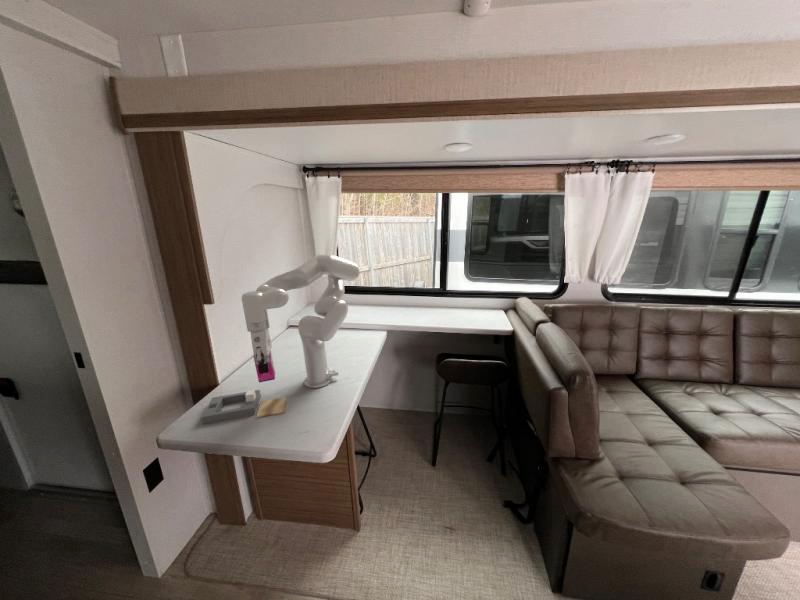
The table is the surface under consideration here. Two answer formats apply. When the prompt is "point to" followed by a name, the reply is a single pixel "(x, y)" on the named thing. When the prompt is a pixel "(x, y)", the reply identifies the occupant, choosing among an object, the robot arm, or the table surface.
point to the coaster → (272, 407)
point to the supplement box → (271, 373)
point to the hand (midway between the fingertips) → (265, 368)
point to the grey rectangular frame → (216, 404)
